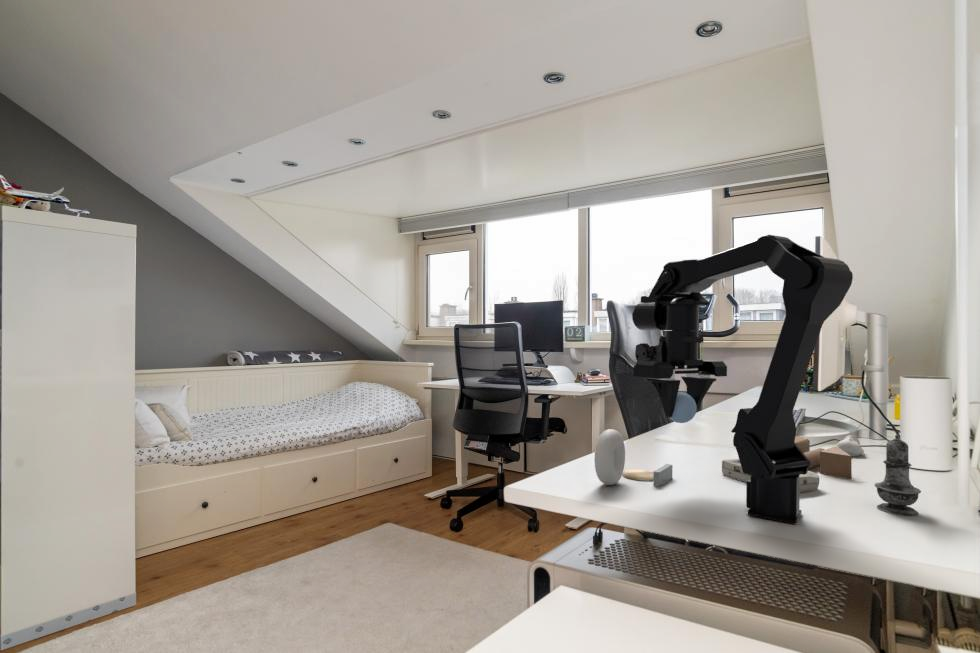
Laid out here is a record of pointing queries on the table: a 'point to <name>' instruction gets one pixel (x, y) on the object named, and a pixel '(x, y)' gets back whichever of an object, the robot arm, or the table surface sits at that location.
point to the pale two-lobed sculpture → (851, 445)
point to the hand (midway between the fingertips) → (680, 416)
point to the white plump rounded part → (609, 457)
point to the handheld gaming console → (806, 481)
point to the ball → (684, 408)
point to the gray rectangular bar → (662, 475)
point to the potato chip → (639, 475)
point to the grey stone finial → (897, 481)
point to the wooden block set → (826, 459)
